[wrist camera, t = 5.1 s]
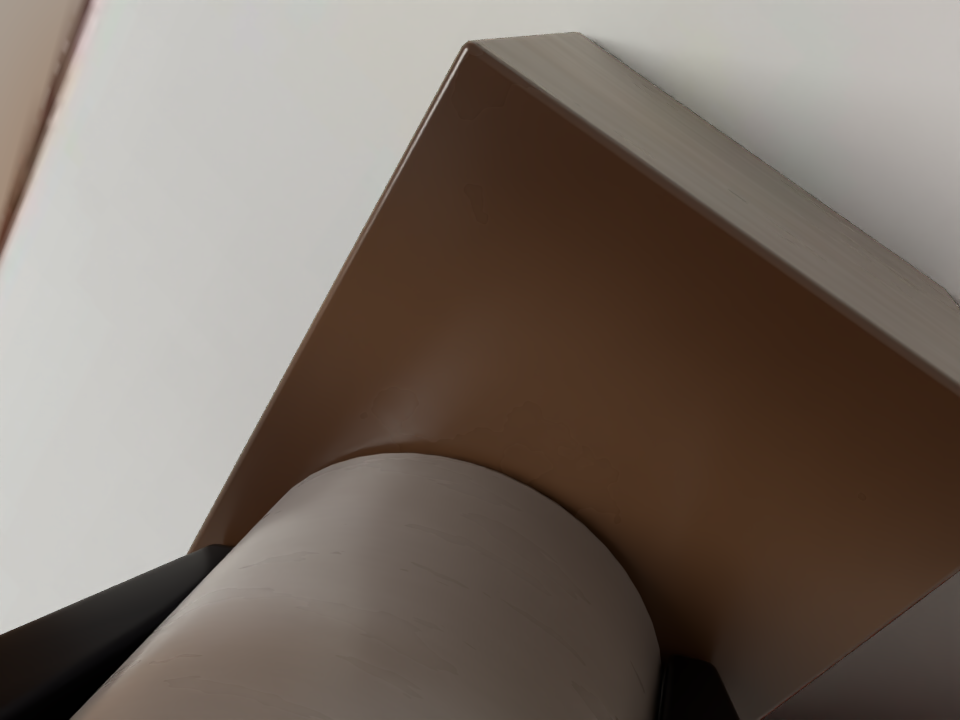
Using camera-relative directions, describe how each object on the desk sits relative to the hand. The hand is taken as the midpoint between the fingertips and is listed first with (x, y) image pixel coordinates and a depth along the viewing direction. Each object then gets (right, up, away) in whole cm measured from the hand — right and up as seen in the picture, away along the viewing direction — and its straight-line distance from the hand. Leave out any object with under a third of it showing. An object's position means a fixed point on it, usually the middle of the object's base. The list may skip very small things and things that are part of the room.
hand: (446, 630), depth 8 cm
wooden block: (+1, +2, +4) cm, 5 cm away
